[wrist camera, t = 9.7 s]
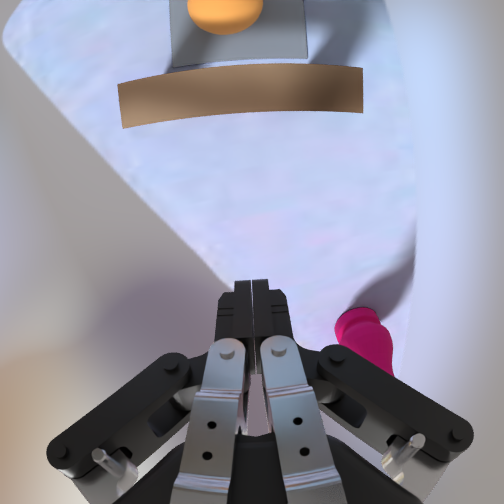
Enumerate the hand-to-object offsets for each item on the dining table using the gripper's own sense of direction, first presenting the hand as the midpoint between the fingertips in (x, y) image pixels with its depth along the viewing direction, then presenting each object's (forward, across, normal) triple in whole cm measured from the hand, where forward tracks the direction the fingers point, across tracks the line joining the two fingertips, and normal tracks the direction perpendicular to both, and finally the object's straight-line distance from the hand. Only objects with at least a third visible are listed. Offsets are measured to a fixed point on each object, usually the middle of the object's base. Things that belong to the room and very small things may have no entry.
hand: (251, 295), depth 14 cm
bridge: (+17, 0, -9) cm, 19 cm away
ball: (+14, +1, -17) cm, 22 cm away
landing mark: (+17, 0, -18) cm, 25 cm away
